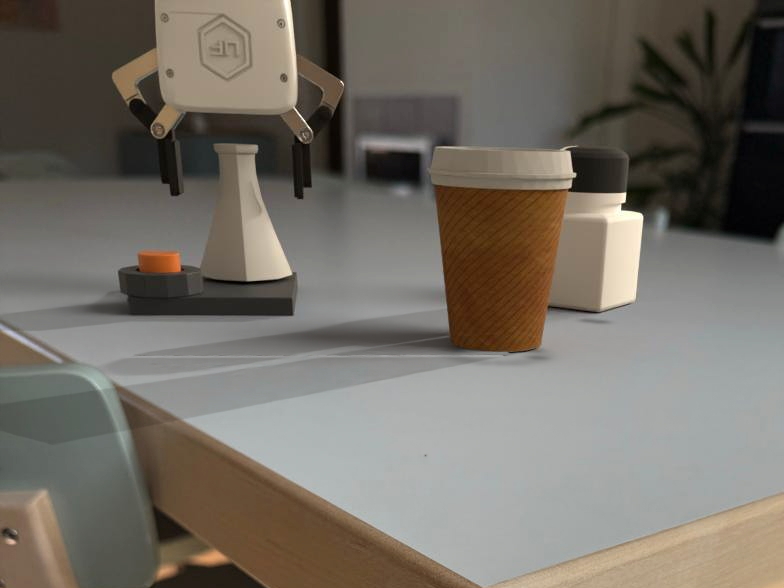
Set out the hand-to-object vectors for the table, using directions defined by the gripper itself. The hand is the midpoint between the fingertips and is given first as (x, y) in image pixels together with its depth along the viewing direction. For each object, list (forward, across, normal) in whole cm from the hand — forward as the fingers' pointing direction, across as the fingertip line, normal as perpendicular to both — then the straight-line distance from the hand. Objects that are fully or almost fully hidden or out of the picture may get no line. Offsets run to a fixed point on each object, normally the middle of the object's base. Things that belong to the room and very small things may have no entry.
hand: (239, 196), depth 79 cm
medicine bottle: (+8, +28, -3) cm, 29 cm away
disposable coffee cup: (+8, +18, -20) cm, 28 cm away
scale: (+8, -2, -3) cm, 8 cm away
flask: (+6, 0, 0) cm, 6 cm away
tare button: (+5, -6, -8) cm, 11 cm away
